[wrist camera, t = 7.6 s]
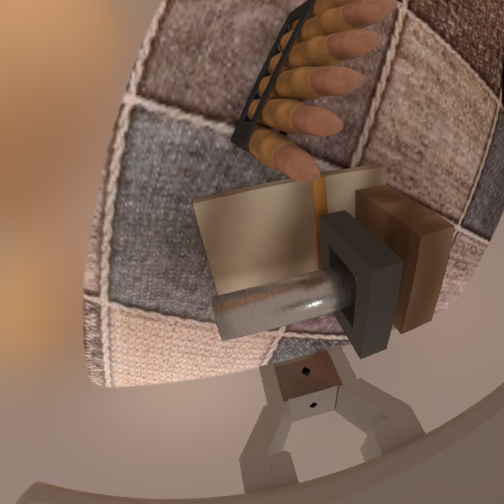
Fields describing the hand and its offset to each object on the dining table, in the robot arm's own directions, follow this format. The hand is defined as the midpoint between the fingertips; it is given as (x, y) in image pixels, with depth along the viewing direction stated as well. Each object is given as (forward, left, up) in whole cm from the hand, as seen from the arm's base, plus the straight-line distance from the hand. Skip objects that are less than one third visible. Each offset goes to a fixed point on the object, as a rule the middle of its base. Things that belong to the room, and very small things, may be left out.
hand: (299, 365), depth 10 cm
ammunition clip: (-4, -10, -14) cm, 18 cm away
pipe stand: (-4, +3, -14) cm, 15 cm away
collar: (-6, +3, -11) cm, 13 cm away
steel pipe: (-4, +3, -9) cm, 10 cm away
